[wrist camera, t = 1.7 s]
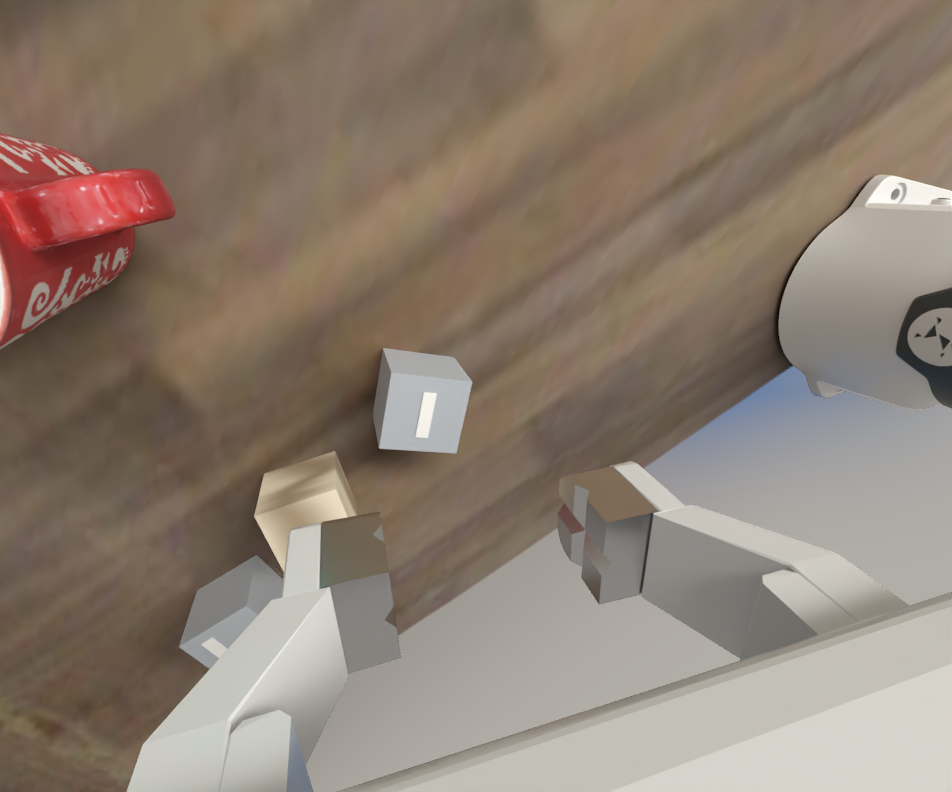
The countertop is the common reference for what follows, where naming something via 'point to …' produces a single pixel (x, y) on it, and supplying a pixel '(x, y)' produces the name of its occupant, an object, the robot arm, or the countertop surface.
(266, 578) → the grey block
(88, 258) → the mug
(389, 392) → the grey block
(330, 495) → the maple block
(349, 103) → the countertop surface
